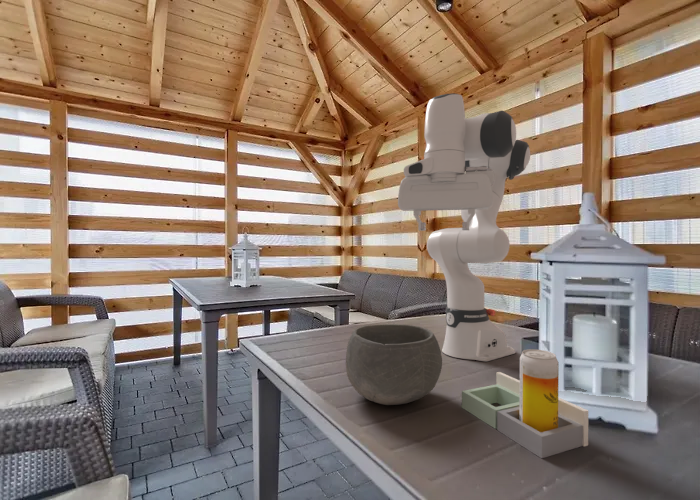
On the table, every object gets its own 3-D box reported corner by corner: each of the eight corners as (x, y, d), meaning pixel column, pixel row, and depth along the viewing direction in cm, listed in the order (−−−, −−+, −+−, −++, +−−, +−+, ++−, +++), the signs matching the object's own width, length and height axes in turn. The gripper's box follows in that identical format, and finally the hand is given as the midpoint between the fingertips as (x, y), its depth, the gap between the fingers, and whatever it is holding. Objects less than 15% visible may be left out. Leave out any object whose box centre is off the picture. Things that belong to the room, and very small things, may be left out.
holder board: (499, 398, 81) (499, 371, 81) (588, 445, 62) (588, 410, 62) (461, 407, 77) (461, 378, 77) (542, 459, 58) (543, 422, 58)
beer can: (563, 449, 61) (564, 360, 61) (524, 445, 63) (524, 358, 62) (551, 430, 67) (551, 349, 67) (515, 427, 68) (516, 347, 68)
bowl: (441, 384, 89) (441, 323, 89) (443, 427, 69) (443, 348, 68) (356, 378, 94) (356, 319, 93) (334, 416, 73) (334, 341, 73)
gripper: (493, 168, 81) (492, 230, 81) (401, 173, 88) (401, 231, 88) (495, 162, 75) (494, 229, 75) (396, 167, 82) (396, 230, 82)
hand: (443, 230), depth 82 cm, fingers open, 8 cm apart
